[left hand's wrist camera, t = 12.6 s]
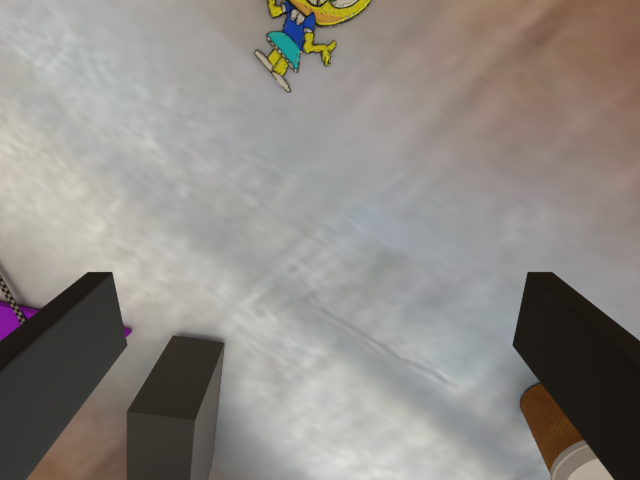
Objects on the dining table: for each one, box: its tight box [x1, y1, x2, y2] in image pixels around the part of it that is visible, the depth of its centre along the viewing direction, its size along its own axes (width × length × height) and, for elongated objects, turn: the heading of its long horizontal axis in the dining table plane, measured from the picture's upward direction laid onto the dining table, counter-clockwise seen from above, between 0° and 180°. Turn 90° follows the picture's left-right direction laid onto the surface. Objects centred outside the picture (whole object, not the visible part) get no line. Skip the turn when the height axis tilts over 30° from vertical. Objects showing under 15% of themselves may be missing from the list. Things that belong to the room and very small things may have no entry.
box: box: [127, 336, 225, 480], centre depth 46 cm, size 20×6×12 cm, turn 170°
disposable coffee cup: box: [520, 384, 614, 480], centre depth 47 cm, size 10×10×12 cm
